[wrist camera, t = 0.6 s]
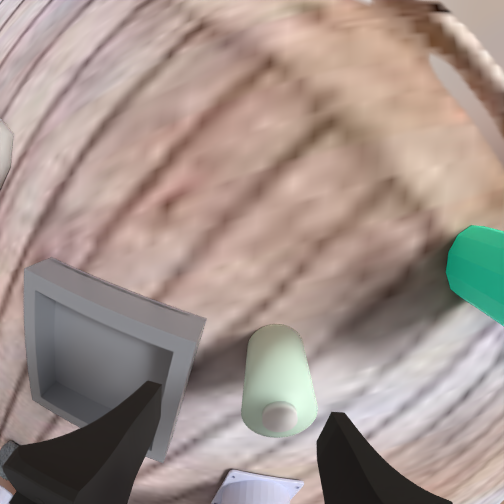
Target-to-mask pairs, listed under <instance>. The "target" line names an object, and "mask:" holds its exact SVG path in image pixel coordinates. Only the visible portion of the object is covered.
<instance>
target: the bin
mask: <svg viewBox="0 0 504 504" xmlns="http://www.w3.org/2000/svg"><path fill="white" fill-rule="evenodd" d="M205 323H206V318H203V317H200V316H197V315H194V314H192V313H189V312H186V311H183V310H180V309H177V308H175V307H172V306H169V305H166V304H164V303H161V302H158V301H155V300H153V299H150V298H147V297H145V296H142V295H140V294H137V293H135V292H132V291H129V290H127V289H124V288H122V287H119V286H117V285H114V284H112V283H110V282H107V281H105V280H102V279H100V278H98V277H95V276H93V275H90V274H88V273H86V272H84V271H81V270H79V269H77V268H74V267H72V266H70V265H68V264H65V263H63V262H61V261H59V260H57V259H54V258H52V257H51V258H49V259H46V260H44V261H41V262H39V263H36V264H34V265H31V266H29V267H27V268H25V269H24V329H25V345H26V356H27V366H28V374H29V381H30V388H31V394H32V400H34V401H35V402H37V403H39V404H40V405H42V406H43V407H45V408H47V409H48V410H50V411H52V412H53V413H55V414H57V415H58V416H60V417H62V418H64V419H65V420H67V421H69V422H71V423H73V424H75V425H76V426H78V427H80V428H82V427H84V426H86V425H88V424H90V423H92V422H94V421H95V420H97V419H99V418H100V417H102V416H103V415H105V414H106V413H108V412H109V411H111V410H112V409H114V408H115V407H116V406H118V405H119V404H120V403H122V402H123V401H124V400H125V399H127V398H128V397H129V396H130V395H131V394H133V393H134V392H135V391H136V390H137V389H138V388H139V387H140V386H142V385H143V384H144V383H145V382H146V381H152V382H155V383H159V384H162V394H161V418H160V421H159V424H158V428H157V431H156V434H155V436H154V439H153V441H152V443H151V445H150V447H149V449H148V451H147V454H146V456H145V457H148V458H151V459H153V460H156V461H159V462H162V463H164V460H165V457H166V454H167V451H168V448H169V445H170V442H171V439H172V436H173V433H174V429H175V425H176V422H177V418H178V415H179V411H180V408H181V404H182V401H183V397H184V394H185V390H186V387H187V383H188V380H189V376H190V373H191V369H192V366H193V363H194V359H195V356H196V353H197V349H198V346H199V342H200V339H201V336H202V332H203V329H204V326H205Z"/></svg>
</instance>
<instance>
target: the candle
mask: <svg viewBox="0 0 504 504" xmlns="http://www.w3.org/2000/svg"><path fill="white" fill-rule="evenodd" d="M446 275H447V278H448V282H449V286H450V289H451V290H452V291H454V292H455V293H456V294H457V295H458V296H460V297H461V298H462V299H464V300H465V301H467V302H469V303H470V304H472V305H473V306H475V307H476V308H478V309H479V310H481V311H482V312H484V313H485V314H487V315H488V316H489V317H491V318H492V319H494V320H495V321H497V322H498V323H500V324H501V325H502V326H504V231H500V230H496V229H493V228H489V227H485V226H474V225H471V226H470V227H468V228H467V229H465V230H464V231H462V232H461V233H460V234H458V236H457V237H456V239H455V241H454V243H453V245H452V247H451V249H450V250H449V252H448V260H447V267H446Z"/></svg>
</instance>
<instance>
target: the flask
mask: <svg viewBox="0 0 504 504" xmlns="http://www.w3.org/2000/svg"><path fill="white" fill-rule="evenodd" d="M13 134H14V133H13V132H12V131H11V130H10V129H9V127H8V126H7V125H6V124H5V122H4V121H3V120H2V119H0V189H1V187H2V184H3V182H4V180H5V177H6V175H7V173H8V171H9V169H10V167H11V153H12V143H13Z"/></svg>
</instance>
